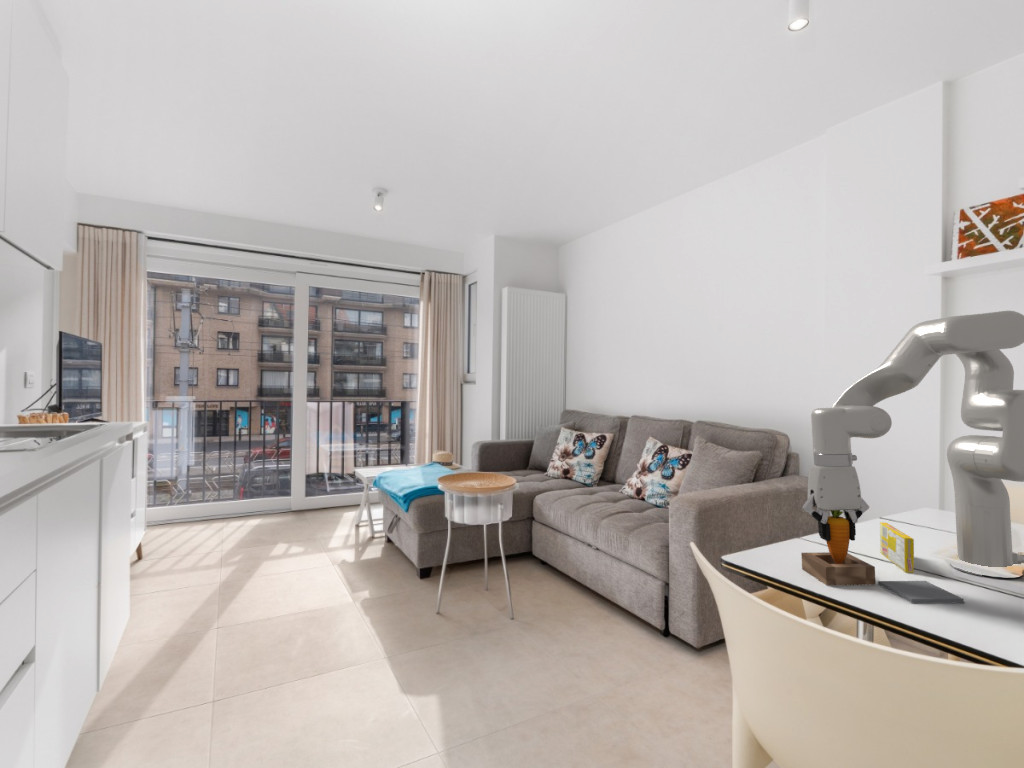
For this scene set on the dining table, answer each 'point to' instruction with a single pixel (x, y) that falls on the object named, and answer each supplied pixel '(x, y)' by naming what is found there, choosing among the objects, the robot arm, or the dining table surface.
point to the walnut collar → (838, 569)
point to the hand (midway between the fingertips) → (837, 538)
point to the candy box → (897, 547)
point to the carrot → (838, 537)
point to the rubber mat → (920, 592)
